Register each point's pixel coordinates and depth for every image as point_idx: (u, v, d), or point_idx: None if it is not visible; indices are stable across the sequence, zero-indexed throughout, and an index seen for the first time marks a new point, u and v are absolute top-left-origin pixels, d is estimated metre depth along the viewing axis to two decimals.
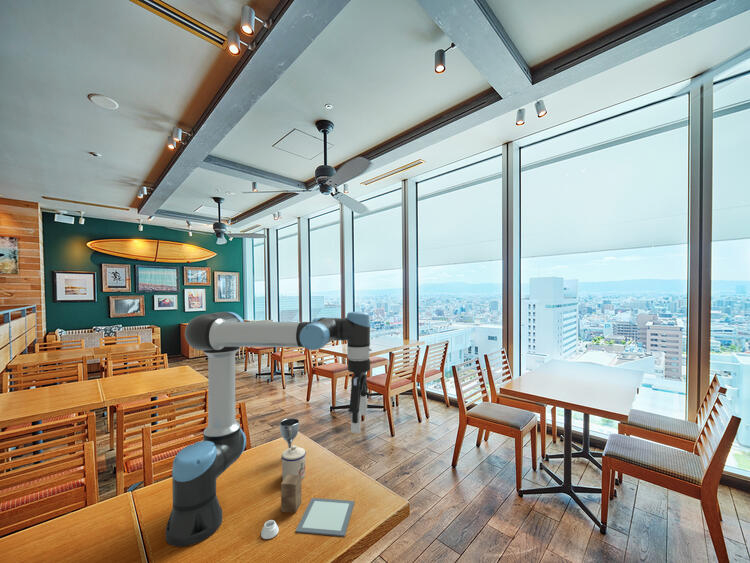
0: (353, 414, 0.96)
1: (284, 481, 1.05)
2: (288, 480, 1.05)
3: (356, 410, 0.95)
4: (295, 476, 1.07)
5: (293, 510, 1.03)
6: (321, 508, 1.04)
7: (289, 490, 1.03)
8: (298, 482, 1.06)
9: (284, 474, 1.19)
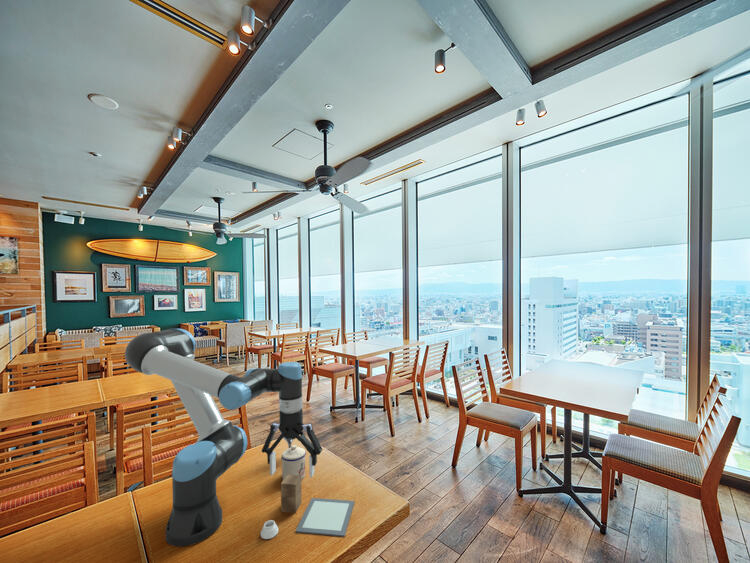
0: None
1: (284, 481, 1.05)
2: (288, 480, 1.05)
3: (262, 450, 1.06)
4: (295, 476, 1.08)
5: (293, 510, 1.03)
6: (321, 508, 1.04)
7: (289, 490, 1.03)
8: (298, 482, 1.06)
9: (284, 474, 1.19)
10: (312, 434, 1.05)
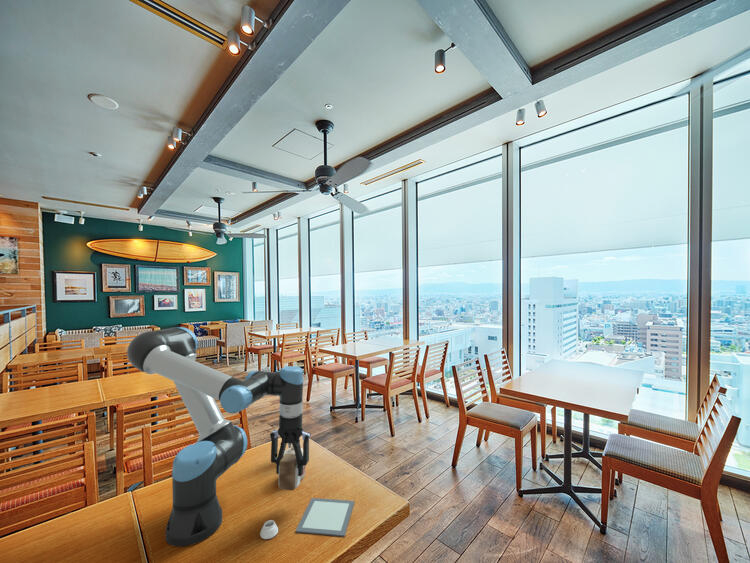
0: None
1: (283, 459, 1.05)
2: (286, 458, 1.05)
3: None
4: (293, 454, 1.08)
5: (291, 488, 1.03)
6: (321, 508, 1.04)
7: (287, 468, 1.03)
8: None
9: None
10: (307, 444, 1.05)
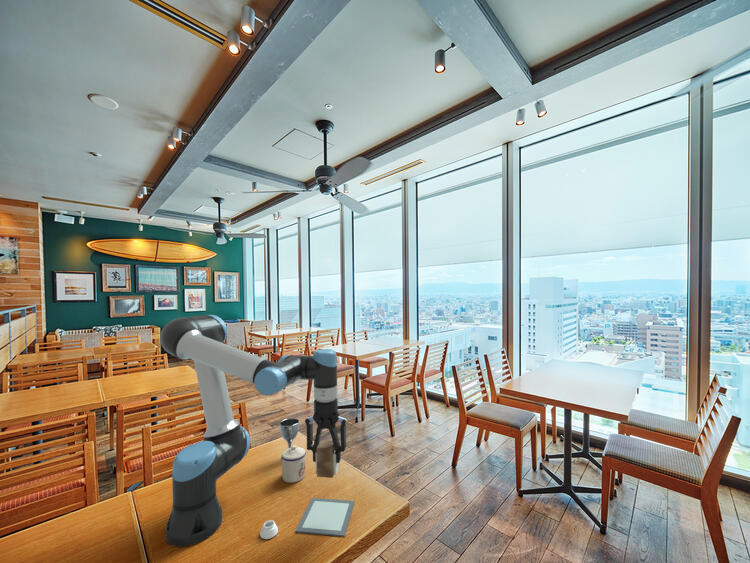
0: None
1: (319, 445, 1.00)
2: (323, 444, 1.01)
3: (307, 447, 1.01)
4: (330, 441, 1.03)
5: (330, 475, 0.98)
6: (321, 508, 1.04)
7: (325, 454, 0.99)
8: None
9: (284, 474, 1.19)
10: (344, 429, 1.00)
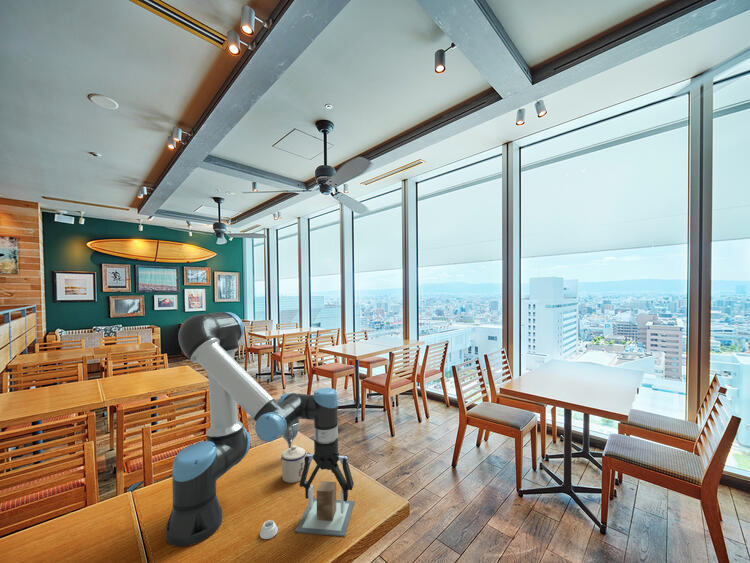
0: None
1: (319, 488, 1.00)
2: (323, 486, 1.01)
3: (300, 484, 1.01)
4: (329, 482, 1.03)
5: (329, 518, 0.98)
6: None
7: (325, 497, 0.98)
8: (334, 489, 1.01)
9: (284, 474, 1.19)
10: (347, 467, 1.00)
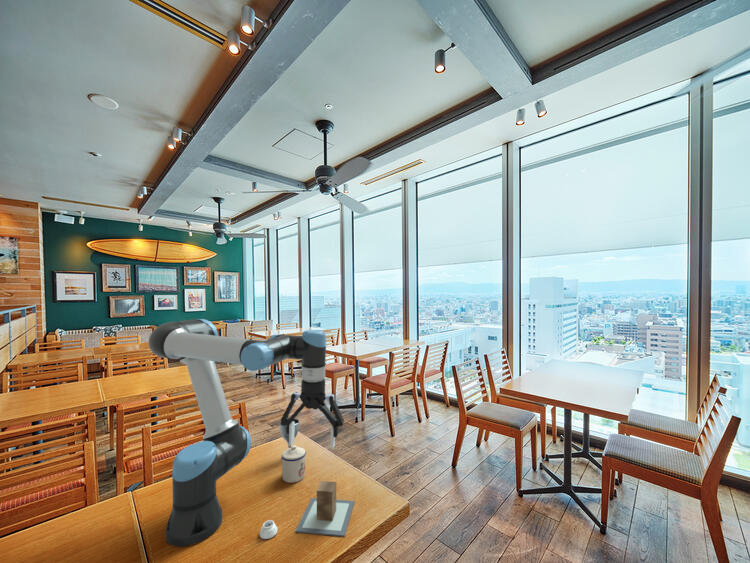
0: None
1: (319, 488, 1.00)
2: (323, 486, 1.01)
3: None
4: (329, 482, 1.03)
5: (329, 518, 0.98)
6: None
7: (325, 497, 0.98)
8: (334, 489, 1.01)
9: (284, 474, 1.19)
10: (335, 405, 1.00)
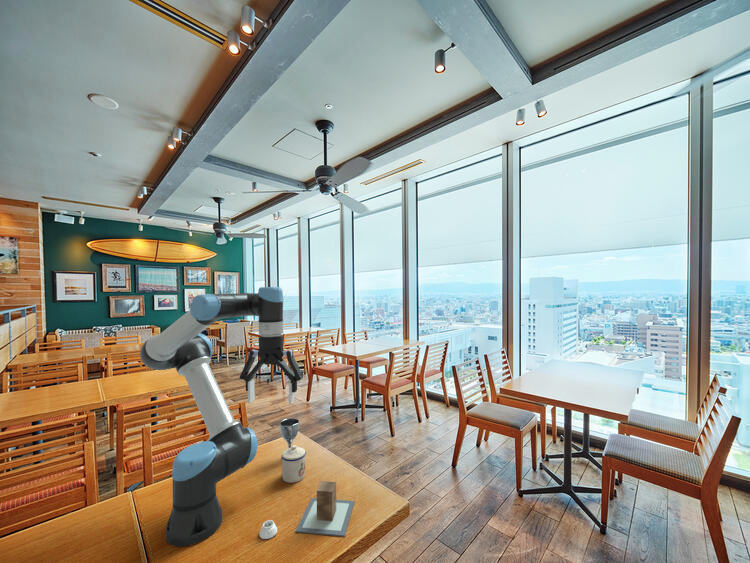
0: None
1: (319, 488, 1.00)
2: (323, 486, 1.01)
3: (240, 376, 1.01)
4: (329, 482, 1.03)
5: (329, 518, 0.98)
6: None
7: (325, 497, 0.98)
8: (334, 489, 1.01)
9: (284, 474, 1.19)
10: (292, 360, 1.00)
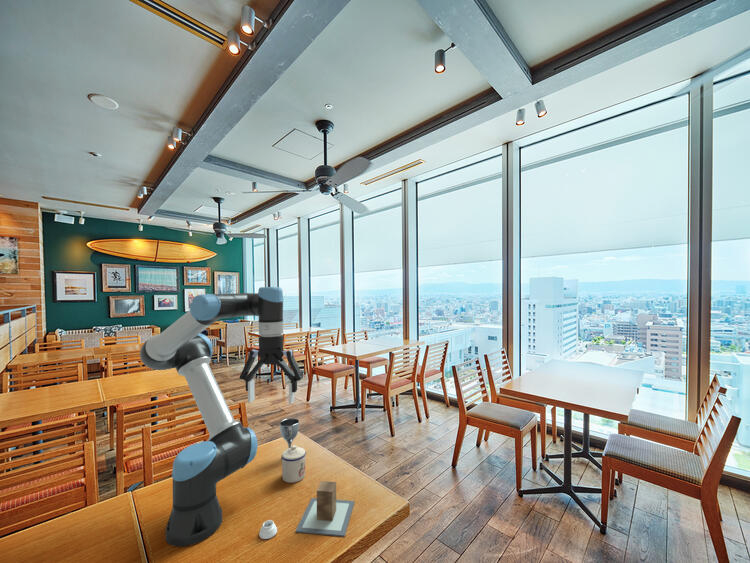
0: None
1: (319, 488, 1.00)
2: (323, 486, 1.01)
3: (240, 376, 1.01)
4: (329, 482, 1.03)
5: (329, 518, 0.98)
6: None
7: (325, 497, 0.98)
8: (334, 489, 1.01)
9: (284, 474, 1.19)
10: (292, 360, 1.00)
